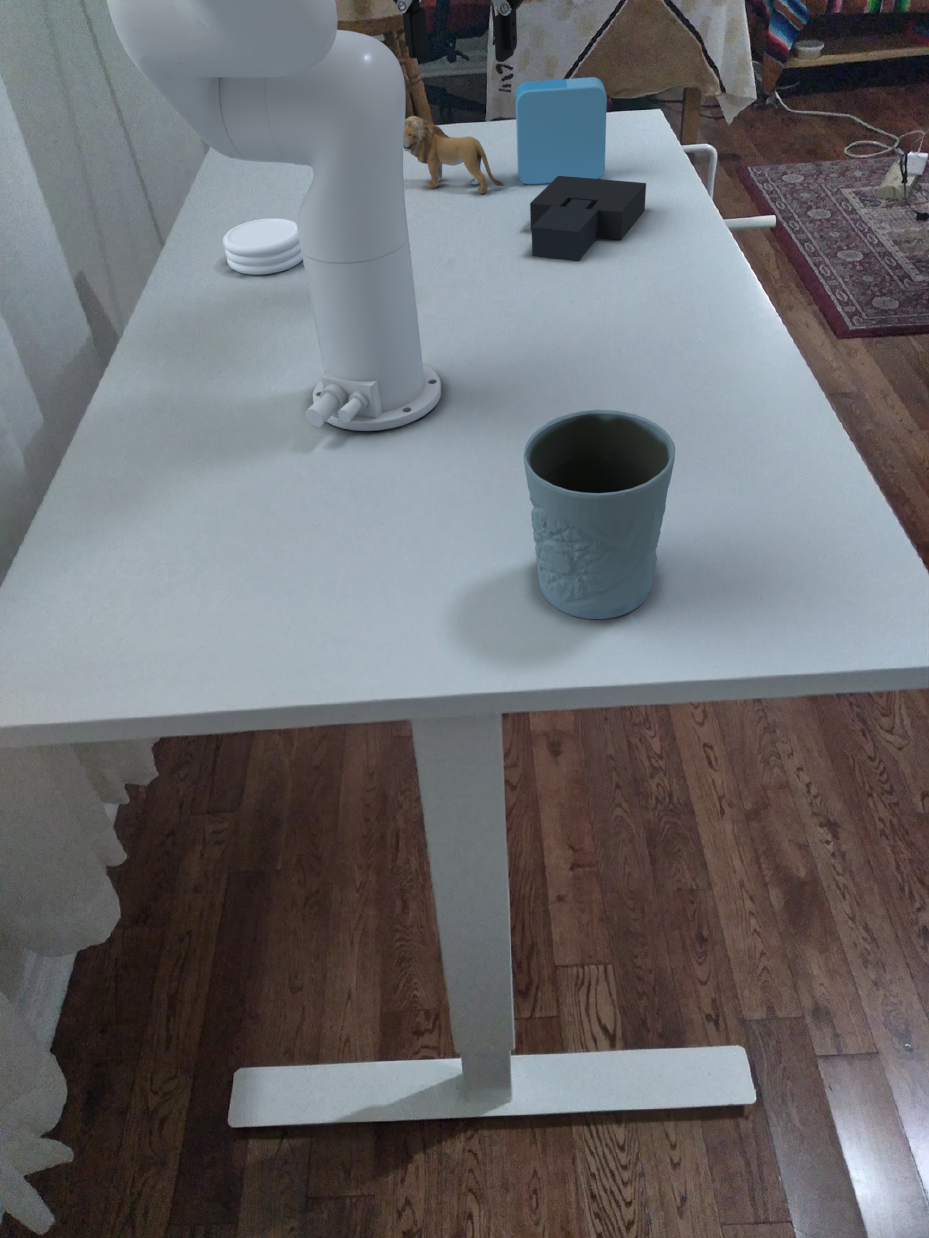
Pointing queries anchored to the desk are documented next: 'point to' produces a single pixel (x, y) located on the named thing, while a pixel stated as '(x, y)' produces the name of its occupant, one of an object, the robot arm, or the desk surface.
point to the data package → (561, 129)
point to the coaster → (263, 246)
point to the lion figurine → (445, 151)
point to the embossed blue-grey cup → (598, 509)
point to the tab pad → (565, 231)
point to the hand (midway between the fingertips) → (461, 57)
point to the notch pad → (596, 202)
